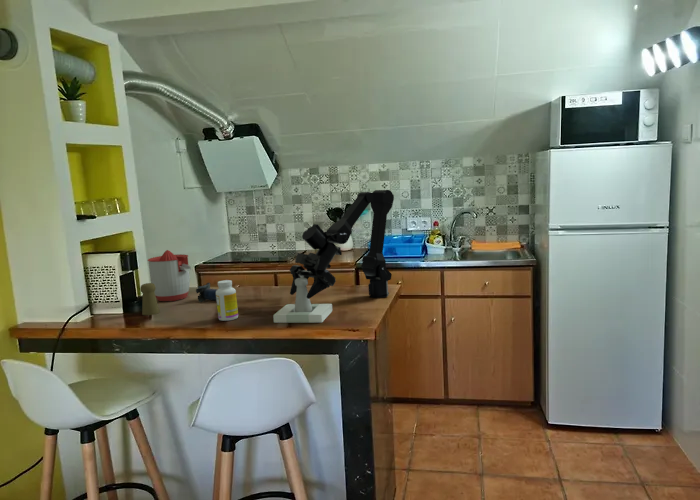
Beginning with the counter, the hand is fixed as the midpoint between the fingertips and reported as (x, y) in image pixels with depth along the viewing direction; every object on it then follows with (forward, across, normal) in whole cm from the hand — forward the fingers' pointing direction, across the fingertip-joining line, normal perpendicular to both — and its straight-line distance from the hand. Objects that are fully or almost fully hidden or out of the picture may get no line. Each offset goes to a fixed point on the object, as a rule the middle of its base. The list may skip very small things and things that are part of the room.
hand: (299, 296), depth 180 cm
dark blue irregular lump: (+9, -49, +2) cm, 50 cm away
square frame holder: (+4, 0, +6) cm, 7 cm away
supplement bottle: (+16, -20, -6) cm, 26 cm away
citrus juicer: (+15, -67, -5) cm, 69 cm away
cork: (+26, -52, -16) cm, 60 cm away
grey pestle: (+4, 0, +6) cm, 8 cm away
